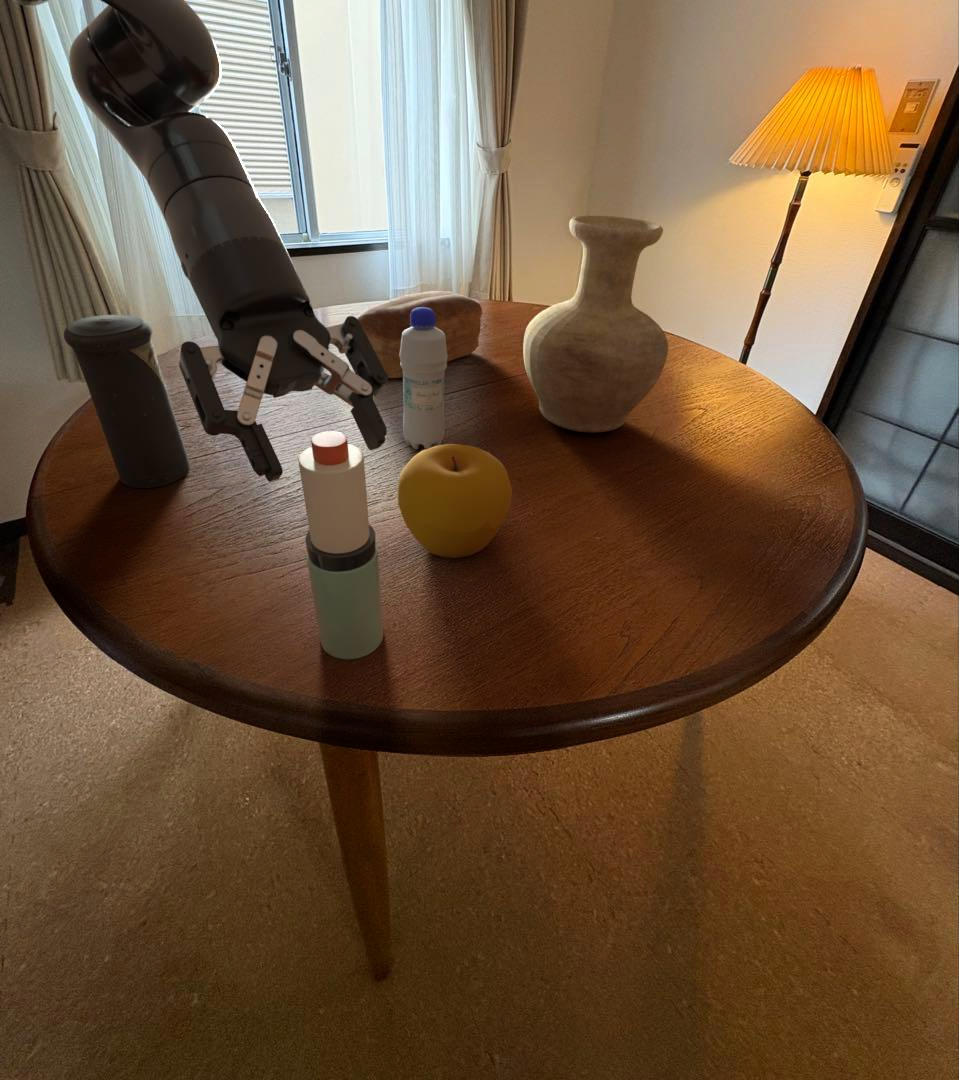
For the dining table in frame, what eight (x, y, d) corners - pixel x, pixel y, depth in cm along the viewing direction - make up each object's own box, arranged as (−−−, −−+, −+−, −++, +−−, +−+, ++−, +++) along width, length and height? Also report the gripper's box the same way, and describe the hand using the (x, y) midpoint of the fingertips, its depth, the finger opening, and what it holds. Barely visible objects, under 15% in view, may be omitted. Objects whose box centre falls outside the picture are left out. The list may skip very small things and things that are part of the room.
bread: (489, 353, 121) (493, 293, 114) (395, 388, 103) (392, 319, 96) (441, 338, 128) (442, 280, 120) (345, 368, 110) (339, 302, 102)
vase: (517, 447, 87) (540, 229, 69) (514, 391, 105) (532, 206, 87) (661, 456, 87) (722, 241, 69) (633, 399, 105) (676, 216, 87)
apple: (386, 521, 69) (381, 437, 62) (481, 502, 74) (486, 423, 67) (420, 586, 60) (419, 497, 53) (526, 560, 65) (538, 475, 58)
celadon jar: (321, 664, 51) (304, 562, 44) (319, 618, 56) (302, 519, 48) (387, 653, 52) (381, 553, 45) (379, 609, 57) (372, 512, 50)
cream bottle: (311, 557, 44) (295, 456, 39) (310, 522, 48) (295, 426, 43) (372, 550, 46) (365, 451, 40) (366, 517, 49) (359, 422, 44)
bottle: (406, 455, 83) (402, 315, 71) (399, 435, 88) (394, 301, 76) (450, 452, 85) (453, 314, 73) (440, 432, 90) (442, 300, 78)
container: (206, 469, 77) (164, 318, 65) (144, 498, 70) (85, 337, 58) (166, 451, 80) (120, 304, 68) (104, 477, 74) (41, 320, 62)
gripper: (135, 239, 35) (245, 472, 35) (337, 227, 43) (426, 418, 43) (137, 306, 42) (230, 505, 42) (313, 285, 49) (391, 452, 50)
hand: (330, 461), depth 43 cm, fingers open, 8 cm apart
